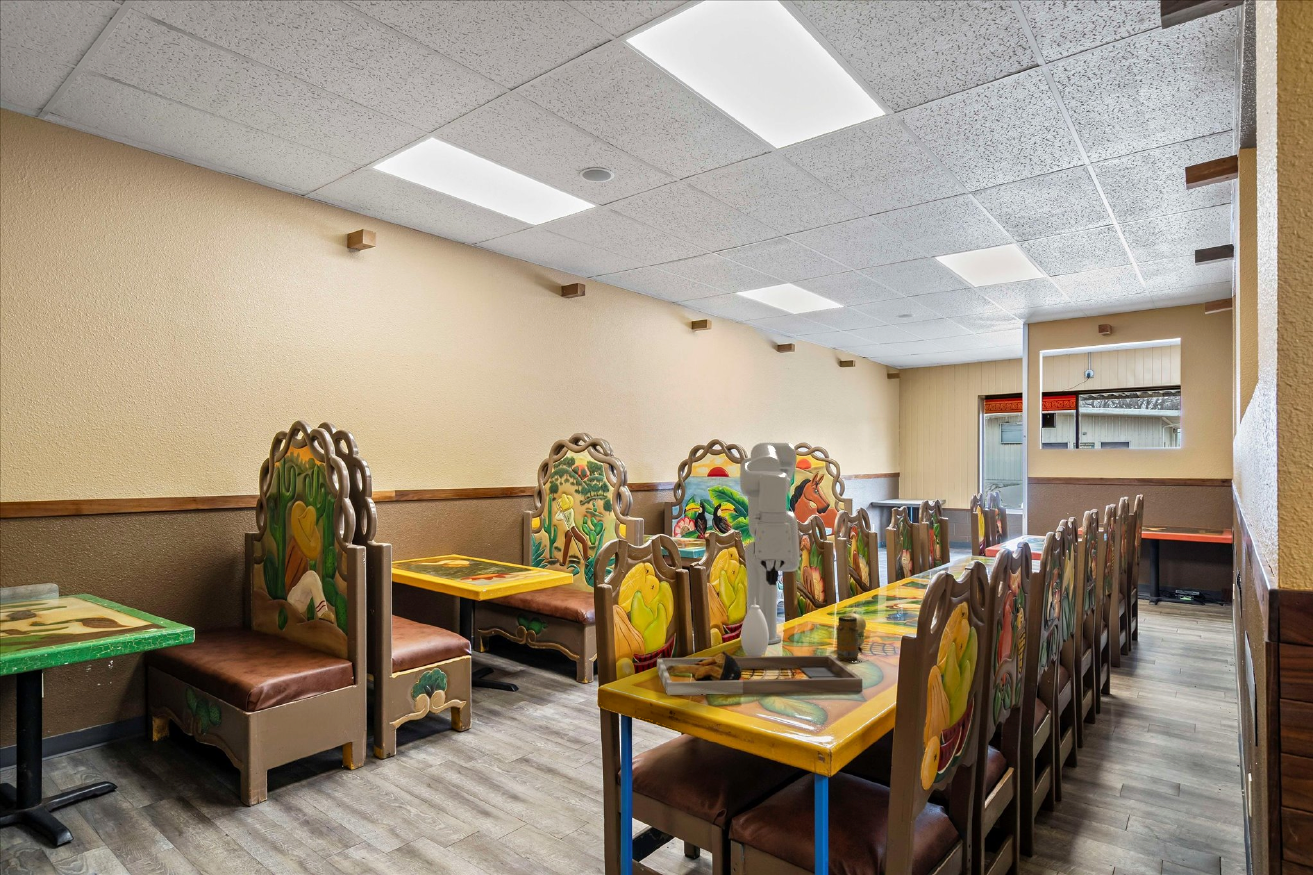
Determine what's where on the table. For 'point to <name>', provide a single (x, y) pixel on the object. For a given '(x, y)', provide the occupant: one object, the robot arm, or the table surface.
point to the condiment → (848, 640)
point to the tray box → (815, 667)
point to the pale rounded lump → (859, 626)
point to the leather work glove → (711, 669)
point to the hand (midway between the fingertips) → (771, 584)
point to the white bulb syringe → (754, 632)
